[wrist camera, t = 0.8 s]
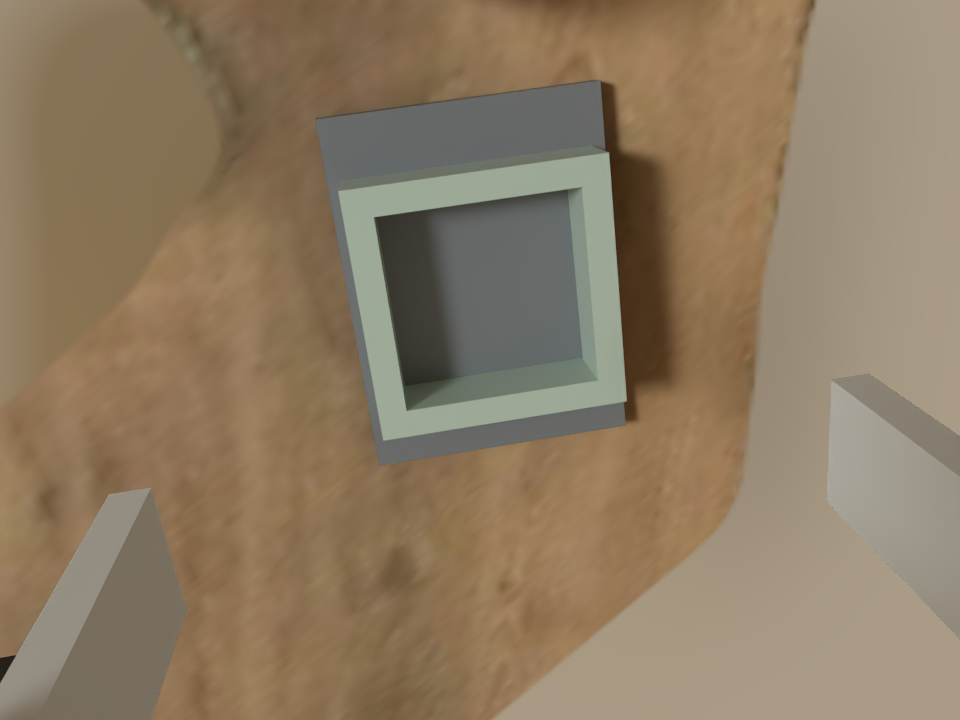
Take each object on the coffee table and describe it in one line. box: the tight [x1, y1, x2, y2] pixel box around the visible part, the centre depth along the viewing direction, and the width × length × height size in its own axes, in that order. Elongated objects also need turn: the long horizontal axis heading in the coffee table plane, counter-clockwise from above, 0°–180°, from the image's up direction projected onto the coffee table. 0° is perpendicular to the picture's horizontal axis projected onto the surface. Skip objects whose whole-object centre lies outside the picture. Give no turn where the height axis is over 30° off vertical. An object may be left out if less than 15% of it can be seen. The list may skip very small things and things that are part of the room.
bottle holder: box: [315, 80, 627, 466], centre depth 37 cm, size 16×12×4 cm
